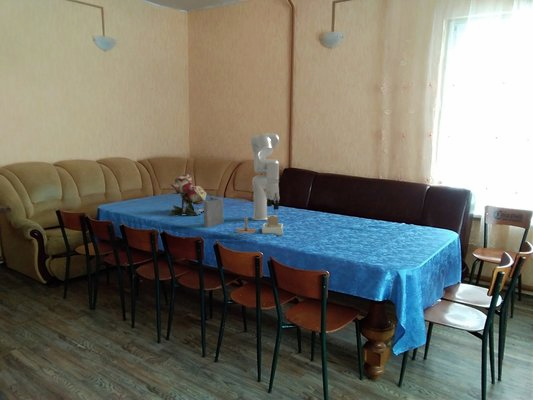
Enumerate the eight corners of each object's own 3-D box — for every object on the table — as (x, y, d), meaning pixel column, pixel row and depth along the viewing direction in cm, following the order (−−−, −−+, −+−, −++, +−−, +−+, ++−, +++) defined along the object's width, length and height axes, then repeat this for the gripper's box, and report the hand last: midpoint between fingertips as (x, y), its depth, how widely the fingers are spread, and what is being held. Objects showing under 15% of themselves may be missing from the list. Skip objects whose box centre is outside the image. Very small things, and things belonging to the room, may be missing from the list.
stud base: (238, 230, 283) (238, 214, 281) (256, 230, 282) (256, 214, 280) (235, 234, 271) (235, 218, 270) (254, 235, 270) (254, 218, 269)
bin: (264, 230, 282) (264, 223, 281) (282, 231, 281) (282, 223, 280) (262, 235, 270) (262, 227, 269) (281, 235, 269) (281, 228, 268)
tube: (267, 231, 276) (267, 215, 275) (274, 230, 279) (274, 215, 277) (270, 233, 272) (270, 217, 270) (278, 232, 274) (278, 216, 272)
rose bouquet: (205, 216, 327) (204, 176, 321) (166, 216, 327) (164, 176, 322) (210, 209, 352) (209, 172, 347) (174, 209, 352) (172, 172, 347)
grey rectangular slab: (206, 227, 291) (205, 198, 287) (202, 226, 293) (201, 197, 290) (224, 223, 302) (223, 195, 298) (220, 222, 305) (220, 194, 301)
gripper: (261, 179, 276) (261, 205, 279) (273, 183, 260) (273, 211, 264) (272, 178, 279) (272, 204, 282) (284, 182, 263) (284, 210, 267)
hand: (272, 207), depth 273 cm, fingers open, 9 cm apart
